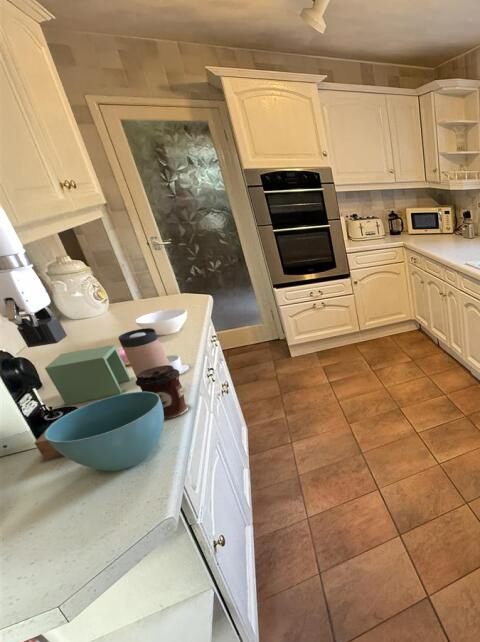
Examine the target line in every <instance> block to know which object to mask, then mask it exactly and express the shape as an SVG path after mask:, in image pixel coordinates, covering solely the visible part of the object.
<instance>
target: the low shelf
mask: <svg viewBox="0 0 480 642" xmlns="http://www.w3.org/2000/svg"><path fill="white" fill-rule="evenodd" d="M54 422H55V421H53V422H51V424H53V423H54ZM47 429H48V427H47V428H46V429H45V431H46V430H47ZM45 431H43V433H41V435H40V436H39V437H38V438H37V440H35V442H34V445H35V446H36V448H37V450H38V451H39V453H40V454H41V456H42V457H43V459H44V460H45V461H49V460H53V459H57V458H61V457H65V456H64V455H62V454H61V453H60V452H58V451H57V450H56V449H55V448H54V447H53V446H52V445H51V444H50V443H49V442H48V441H47V440H46V438H45V436H44V434H45Z"/></svg>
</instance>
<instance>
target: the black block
mask: <svg viewBox="0 0 480 642" xmlns="http://www.w3.org/2000/svg"><path fill="white" fill-rule="evenodd" d="M37 322H38V326H40V325H41V326H42V327H43V329H44V331H45V333H46V335H47V336H48V338H49V341H48V342H44V343H38V344H29V342H28V341H27V339H26V337H25V335H24V334H23V332H22V330H21V329H19V328H18V327H16V330H17V331H18V332H19V334H20V336H21V338H22V339H23V341H24V343H25V345H26V347H27V348H28V349H29V348H35V347H41V346H47V345H54V344H58V343H60V342H61V341H62V340H64V339H65V338H67V337H68V334H67V333H66V330H65V329H64V327H63V325H62V324H61V321H60V319H59V318H58V317H57V316H55V317H54V318H53V317H51V318H46V319H39V320H38V319H37Z"/></svg>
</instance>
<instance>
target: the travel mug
mask: <svg viewBox="0 0 480 642" xmlns="http://www.w3.org/2000/svg"><path fill="white" fill-rule="evenodd" d="M118 340H119V343H120V345H121V347H122V349H124V352H125V354H126V356H127V358H128V360H129V363H130V365H129V366H130V367H131V369H132V371H133V373H134V375H135V377H136V379H137V375H138V374H139V373H140V372H142V371H144V370H147V369H151V368H155V367H158V366H165V365H170V364H169V361H168V359H167V357H166V356H167V355H166V352H165V350H164V348H163V346H162V343H161V341H160V339H159V336H158V335H157V334H156V332H155V330H154V329H152V328H145V329H143V328H137V329H134V330H131V331H127V332H124V333H121V334H120V335H119V336H118Z"/></svg>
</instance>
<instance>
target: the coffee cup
mask: <svg viewBox="0 0 480 642" xmlns="http://www.w3.org/2000/svg"><path fill="white" fill-rule="evenodd" d="M135 385H136V386H137V387H139V389H140V391H141V392H153V393H156V394H157V395H158V396H159V397H160V399H161V402H162V406H163V413H164V420H166V419H171V418H175V417H178V416H182V415H183V414H185V413H186V412H187V411H188V410H189V407H188V406H187V404H186V399H185V394H184V389H183V386H182V384H181V382H180V374H179V371H178V370H177V369H174V368H173V366H170V365H165V366H158V367H155V368H151V369H147V370H144V371H142V372H140V373H139V374H138V375H137V378H136V380H135Z"/></svg>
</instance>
